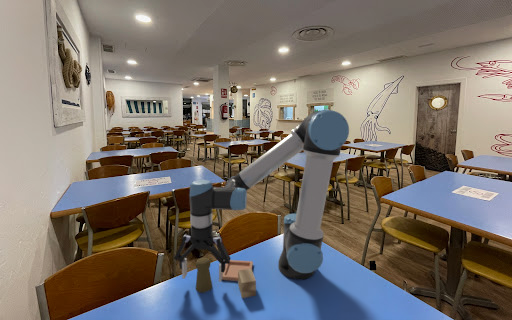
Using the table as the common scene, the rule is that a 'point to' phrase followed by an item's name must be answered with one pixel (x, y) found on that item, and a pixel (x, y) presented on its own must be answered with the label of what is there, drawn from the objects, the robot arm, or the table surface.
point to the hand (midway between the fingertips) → (202, 277)
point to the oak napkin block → (246, 283)
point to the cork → (203, 275)
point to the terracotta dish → (235, 269)
